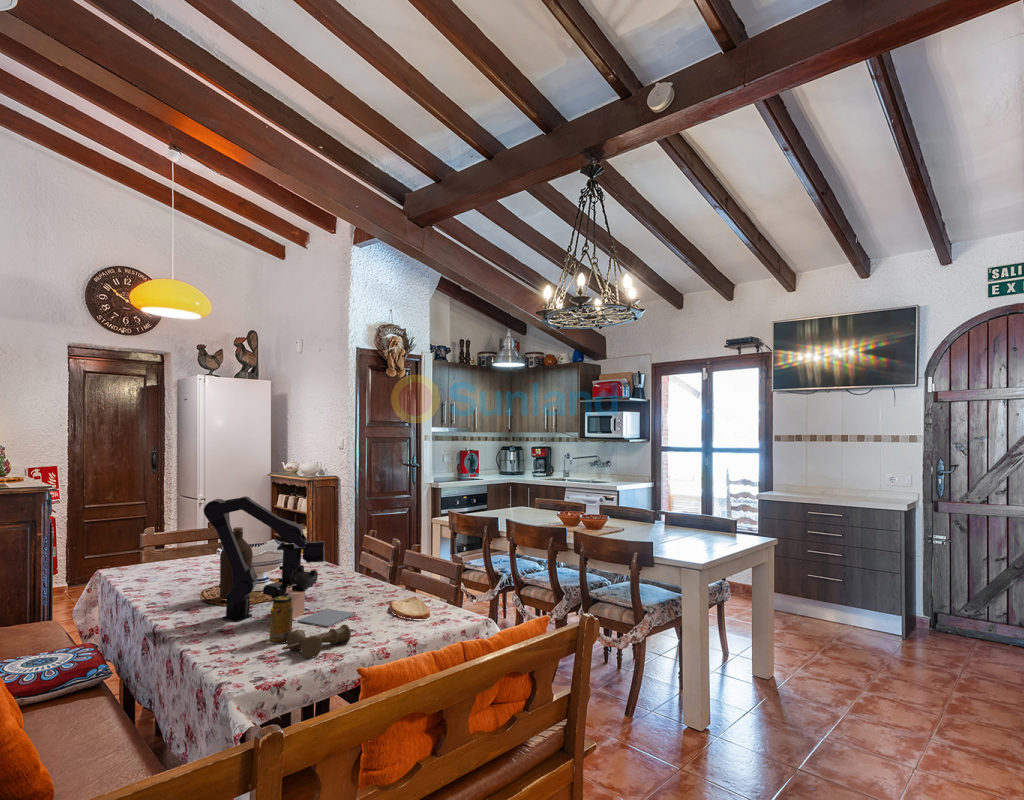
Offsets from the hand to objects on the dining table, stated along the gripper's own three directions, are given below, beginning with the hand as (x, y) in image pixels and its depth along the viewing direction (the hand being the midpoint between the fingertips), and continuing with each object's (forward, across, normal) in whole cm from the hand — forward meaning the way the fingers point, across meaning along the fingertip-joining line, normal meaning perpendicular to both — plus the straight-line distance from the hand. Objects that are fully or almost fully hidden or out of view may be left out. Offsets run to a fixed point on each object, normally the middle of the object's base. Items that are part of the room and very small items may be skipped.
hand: (289, 610), depth 192 cm
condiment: (+2, -18, -14) cm, 23 cm away
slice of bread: (+2, +21, -34) cm, 40 cm away
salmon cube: (+2, 0, 0) cm, 2 cm away
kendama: (+2, -20, -28) cm, 34 cm away
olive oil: (+2, +7, +31) cm, 32 cm away
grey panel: (+2, +3, -13) cm, 13 cm away
